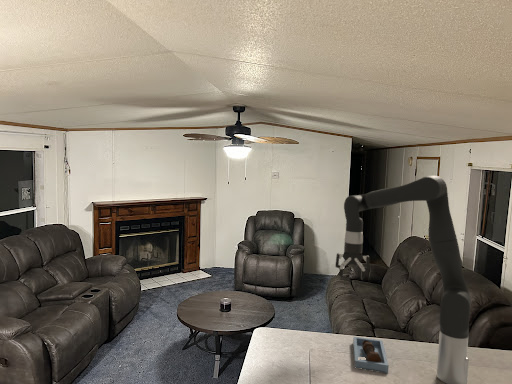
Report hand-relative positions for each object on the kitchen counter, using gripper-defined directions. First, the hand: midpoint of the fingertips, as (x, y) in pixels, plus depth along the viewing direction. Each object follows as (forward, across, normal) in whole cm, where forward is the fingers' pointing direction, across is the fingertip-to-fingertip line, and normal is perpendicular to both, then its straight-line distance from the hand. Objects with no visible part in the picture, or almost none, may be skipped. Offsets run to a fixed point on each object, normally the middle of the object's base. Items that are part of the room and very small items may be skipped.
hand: (351, 278), depth 162 cm
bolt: (+28, -8, +13) cm, 32 cm away
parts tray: (+28, -8, +12) cm, 32 cm away
